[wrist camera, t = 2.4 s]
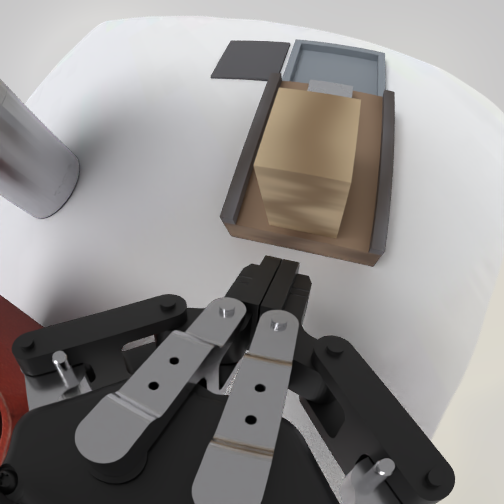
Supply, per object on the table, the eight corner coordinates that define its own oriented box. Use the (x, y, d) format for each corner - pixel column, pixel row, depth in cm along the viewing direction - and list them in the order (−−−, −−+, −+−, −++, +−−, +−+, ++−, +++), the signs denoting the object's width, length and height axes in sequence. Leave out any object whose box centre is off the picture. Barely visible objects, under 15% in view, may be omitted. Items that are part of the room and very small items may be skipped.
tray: (279, 98, 31) (278, 89, 30) (296, 48, 34) (295, 39, 32) (382, 116, 29) (385, 106, 27) (383, 61, 31) (384, 53, 30)
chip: (303, 119, 26) (302, 108, 25) (310, 90, 27) (310, 79, 26) (347, 127, 25) (349, 115, 24) (351, 97, 26) (353, 86, 25)
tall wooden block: (269, 224, 23) (253, 165, 16) (287, 158, 25) (278, 87, 17) (336, 238, 22) (351, 182, 15) (348, 169, 24) (360, 99, 16)
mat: (211, 78, 34) (210, 76, 33) (231, 42, 36) (230, 40, 35) (276, 81, 32) (276, 79, 32) (289, 44, 34) (289, 42, 34)
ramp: (231, 236, 27) (219, 216, 23) (275, 99, 31) (271, 72, 27) (372, 266, 24) (384, 251, 20) (387, 118, 28) (394, 92, 25)
